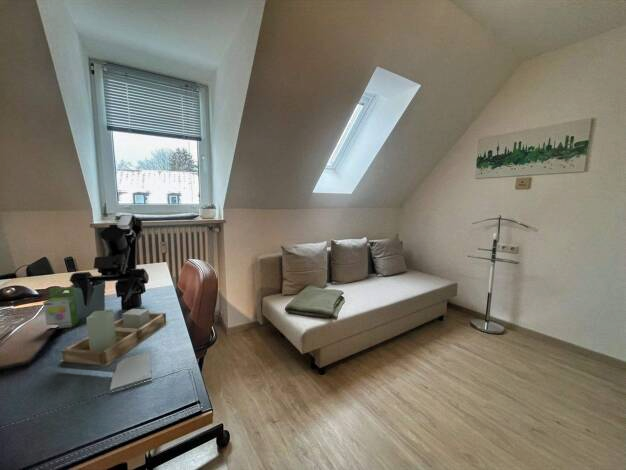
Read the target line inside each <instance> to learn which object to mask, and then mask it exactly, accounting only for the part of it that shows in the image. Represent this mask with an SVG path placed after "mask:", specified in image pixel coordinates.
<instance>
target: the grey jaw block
mask: <svg viewBox="0 0 626 470" xmlns="http://www.w3.org/2000/svg"><path fill="white" fill-rule="evenodd" d="M149 312H150V311H149V309H144V308H134V309H130V310H126V312H124V313H122V318H123V325H124V328H133V329H139V328H141V327H142V326H144V325H145V324H147V323H149V322H150V320H149Z"/></svg>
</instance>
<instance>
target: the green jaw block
mask: <svg viewBox="0 0 626 470" xmlns="http://www.w3.org/2000/svg"><path fill="white" fill-rule="evenodd" d="M114 315H115V314H114V309H105V310H103V311H94V312H93V313H92V314H91V315H90V316H88V317H87V318H85V320H86V327H87V328H86V329H87V337H88V338H89V347H90V351H100V352H103V351H105V350H106V349H108V348H109V347H111V346H113V345H114V344H116V333H115V322H116V321H115V316H114Z"/></svg>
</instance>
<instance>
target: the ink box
mask: <svg viewBox="0 0 626 470" xmlns="http://www.w3.org/2000/svg"><path fill="white" fill-rule="evenodd" d="M49 291H50V292H49V293H50V298H49V299H47V300H45V301H43V302H42V306H43V311H44V317H45V323H46V326H47V325H58V326H59V328H58V329H66V328H73V327H75V325H77V324H78V323H79V318H78V314H77V306H76V299H75V294H74V287H70V286H65V287H50V288H49ZM59 291H68V292H59Z"/></svg>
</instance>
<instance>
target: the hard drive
mask: <svg viewBox="0 0 626 470" xmlns="http://www.w3.org/2000/svg"><path fill="white" fill-rule="evenodd" d="M150 356H151V355H150V352H149V351H148V352H143V353H140V354H137V355H133V356H130V357H129V356H128V357H125V358H122V359H121V360H120V361H119V362H118V363H117V364H116V370H115V371H113V374H112V378H111V381H110V382H111V383H110V387H109V393H110V392H112V391H116V390H118V389H121V388H126V387H129V386H132V385H135V384H138V383H141V382H144V381H147V380H150V379H152V380H153V371H151V370H150V367H151V366H150V362H151V361H150V358H151V357H150Z"/></svg>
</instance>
